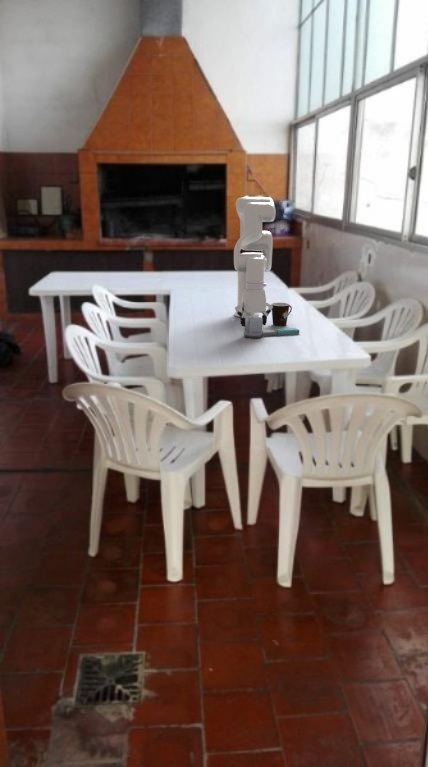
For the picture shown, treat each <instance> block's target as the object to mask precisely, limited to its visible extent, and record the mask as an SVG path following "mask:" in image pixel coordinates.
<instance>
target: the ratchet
mask: <svg viewBox="0 0 428 767" xmlns="http://www.w3.org/2000/svg"><path fill="white" fill-rule="evenodd" d="M299 334H300V329H299V328H297V327H288V328H275V329H273V330H272V329H271V330H262V332H259V333H248V332H247V331H245V329H244V330H243V337H244V338H245V339H249V338H250V340H258V339H262V338H264V337H266V338H267V337H276V336H277V337H280V336H292V335H293V336H294V335H299Z"/></svg>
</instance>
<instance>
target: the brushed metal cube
mask: <svg viewBox="0 0 428 767" xmlns="http://www.w3.org/2000/svg"><path fill="white" fill-rule="evenodd" d="M263 326H264V325H263V319H262V317H260V316H249V317H245V327H244V330H245V331H247V332H248V333H259V332H262V331H263Z"/></svg>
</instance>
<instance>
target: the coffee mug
mask: <svg viewBox="0 0 428 767" xmlns="http://www.w3.org/2000/svg"><path fill="white" fill-rule="evenodd" d="M270 305H272V306H273V308H272V310H271V317H272V318H271V319H272V326H274V327H280V328H281V327H286V326H287V323H288V317H289V315H291V312H292V310H293V309H292V308H293V307H292V305H291V304H290V303H288V302H287V303H286V302H272V303H271V304H270Z"/></svg>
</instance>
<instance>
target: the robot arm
mask: <svg viewBox="0 0 428 767" xmlns="http://www.w3.org/2000/svg"><path fill="white" fill-rule="evenodd" d="M235 209H236V213H237V215H238V218H239V223H240V224H239V225H240V226H239V227H240V229H239V233H240V234H239V239H237V241H236V243H235V246H234V249H233V266H234V269H235V271H237V305H236V306H235V307H234V310H235V312H234V313H233V314H234V316H235V317H238V318H240V321H239V322H240V324H239V325H241V327H242V328H243V327H244V328H245V317H249V316H259V315H260V313H261V314H262V315H261V318H262V319H263V326H267V323H268V319H267V318H268V317H269V314H270V313H272V308H273V306H272V305H271V304H270V303H268V302H267V297H266V290H265V289H264V288H265V287H267V283H265V281H264V280H265V279H264V275H265V273H268V272H269V271H270V270H271V269H272V263H273V247H274V246H273V241H274V240H273V235H272V232H270V231H268V230H263V223H271V222H274V221H275V219H276V214H277V213H276V212H277V211H276V205H275V202H274V200H273V198H271V197H267V196H266V197H265V196H263V197H262V196H261V197H260V196H243V197H239V198H237V199H236V201H235ZM241 250H243V251H247V252H242V253H241ZM248 251H250V252H248ZM251 251H252V252H251ZM253 251H257V252H253ZM258 251H259V252H258ZM260 251H261V252H260ZM267 308H268V309H267ZM259 317H260V316H259Z"/></svg>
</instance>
